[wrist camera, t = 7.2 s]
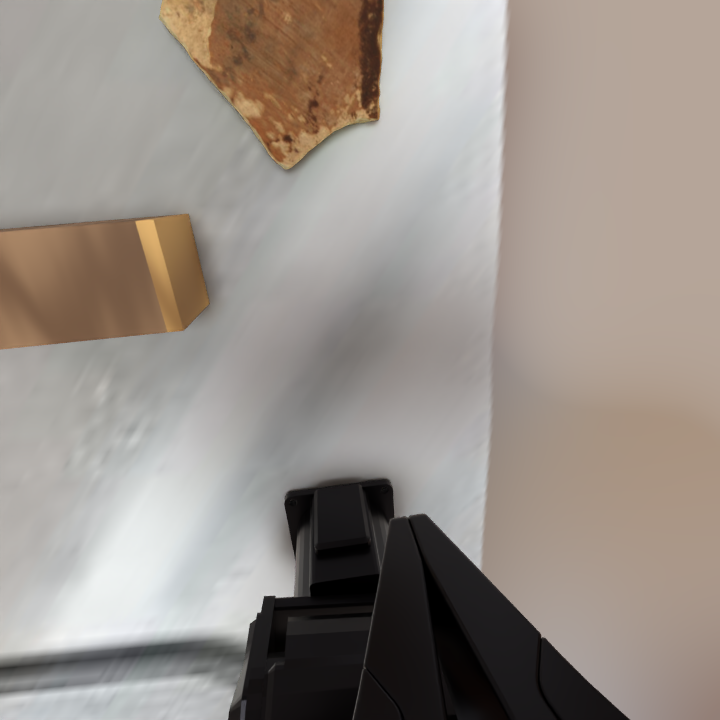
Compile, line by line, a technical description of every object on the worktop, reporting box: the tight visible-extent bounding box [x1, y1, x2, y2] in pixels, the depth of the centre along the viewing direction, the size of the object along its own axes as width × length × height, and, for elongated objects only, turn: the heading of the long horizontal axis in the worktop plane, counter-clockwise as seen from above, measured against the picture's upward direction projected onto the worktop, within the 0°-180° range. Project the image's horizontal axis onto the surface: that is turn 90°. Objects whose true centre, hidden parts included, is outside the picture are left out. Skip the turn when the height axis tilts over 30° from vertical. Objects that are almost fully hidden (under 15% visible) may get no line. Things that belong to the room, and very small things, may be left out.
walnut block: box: [0, 214, 210, 349], centre depth 15 cm, size 4×4×9 cm
